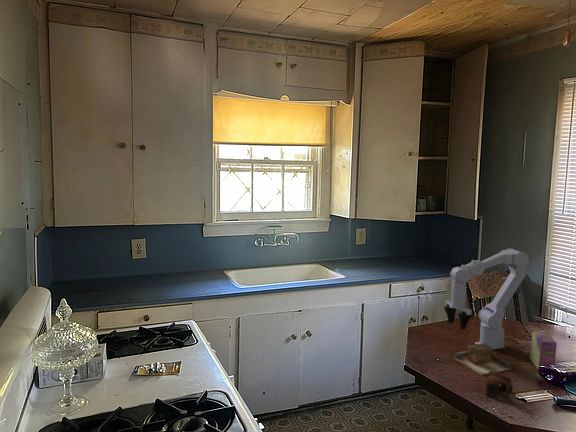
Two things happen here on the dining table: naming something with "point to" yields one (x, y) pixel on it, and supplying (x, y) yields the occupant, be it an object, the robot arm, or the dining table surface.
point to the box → (542, 349)
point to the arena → (484, 364)
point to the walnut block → (479, 353)
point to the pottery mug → (493, 385)
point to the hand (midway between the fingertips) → (457, 325)
